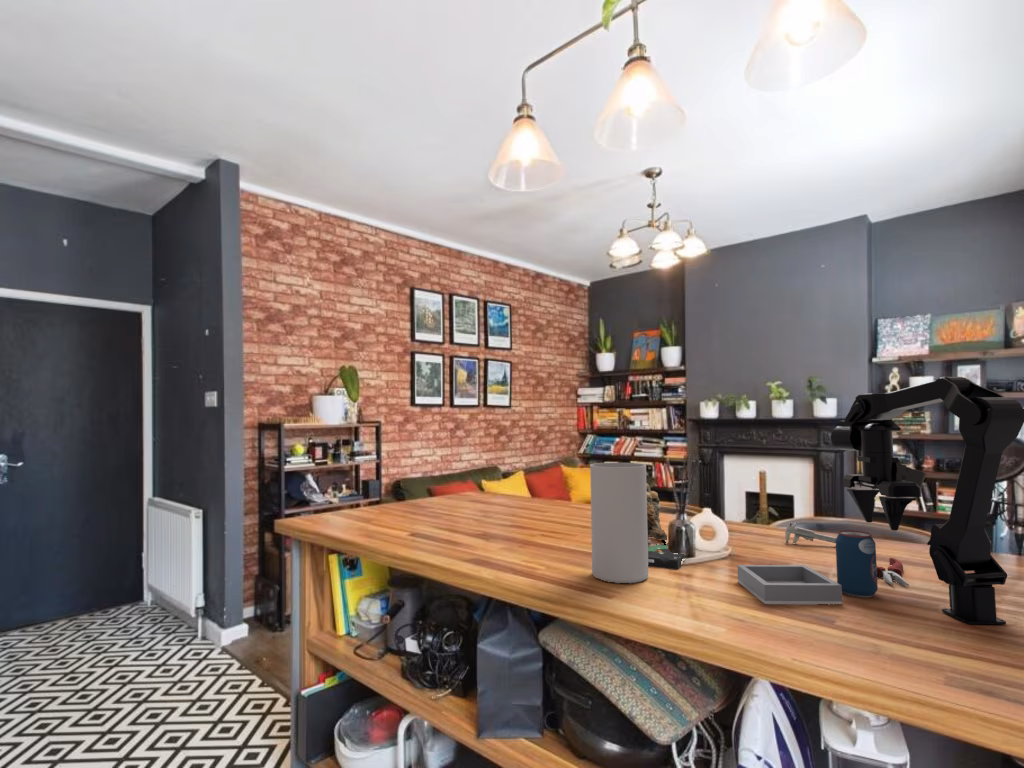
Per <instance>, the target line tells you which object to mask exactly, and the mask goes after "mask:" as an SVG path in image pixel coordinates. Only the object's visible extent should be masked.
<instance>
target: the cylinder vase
mask: <svg viewBox="0 0 1024 768" xmlns="http://www.w3.org/2000/svg"><path fill="white" fill-rule="evenodd" d="M589 466H590V468H589V470H590V474H589V475H590V520H591V522H590V523H591V524H590V525H591V526H590V527H591V530H590V531H591V534H590V536H591V574H592V576H594V578H596V579H597V578H599V579H601V580H600V581H602V580H605V581H609V582H608V583H610V582H615V583H614V584H620V583H629V584H637V583H640V582H643V581H646V580H647V579H648V578H649V573H650V572H649V566H648V529H647V486H646V483H647V465H646V464H644V463H638V462H637V463H635V462H598V463H590V465H589ZM599 579H598V580H599ZM605 581H604V582H605ZM636 582H637V583H636Z"/></svg>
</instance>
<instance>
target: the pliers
mask: <svg viewBox="0 0 1024 768" xmlns="http://www.w3.org/2000/svg"><path fill="white" fill-rule="evenodd" d="M888 560H889V566H888V568H887V570H886V568H885V567H882V566H879V565H877V577H878V578H880V577H883V578H882V579H883V581H884V582H886V583H887V584H889V585H891V586H894V583H896V582H897V583H896V584H898V583H899V584H898V585H900V586H901V585H902V586H907V587H909V586H910V584H909V583H908V582H907V581H906V580H905V578H903V571H904V565H903V563H902V562H901V561H900V560H898V559H896V558H894V557H890V558H889V559H888ZM890 565H892V566H890ZM892 580H895V581H894V582H893V581H892Z"/></svg>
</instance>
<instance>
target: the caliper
mask: <svg viewBox="0 0 1024 768" xmlns="http://www.w3.org/2000/svg"><path fill="white" fill-rule="evenodd" d="M784 534H785V535H784V536H785V543H786V544H787V543H788V544H789V541H790V537H791V534H794V536H793V540H792V544H793V543H796V544H797V542H798V540H799V539H800V538H803V539H804V540H805V541H811V542H813V541H814V539H815V540H818V541H819V540H820V541H823V542H827V543H832V544H836V538H837V537H834V536H831V535H825V534H823V533H822V534H821V533H818V532H817V533H816V532H815V531H814V530H811V529H808V528H802V527H798V526H796V522H795V523H792V521H790V522H789V525H787V526H786V529H785V533H784Z"/></svg>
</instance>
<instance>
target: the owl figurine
mask: <svg viewBox="0 0 1024 768" xmlns="http://www.w3.org/2000/svg"><path fill="white" fill-rule="evenodd" d="M646 486H647V529H648V537H654V538H656V539H661V540H664V541H665V540H667V536H668V535H667V533H666V532H665V529H662V525H661V523H660V522H661V519H660V518H661V517H660V511H661V503H660V498H659V494H658V492H656V491H654V490H651V486H650V485H649V483H647V482H646Z"/></svg>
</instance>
